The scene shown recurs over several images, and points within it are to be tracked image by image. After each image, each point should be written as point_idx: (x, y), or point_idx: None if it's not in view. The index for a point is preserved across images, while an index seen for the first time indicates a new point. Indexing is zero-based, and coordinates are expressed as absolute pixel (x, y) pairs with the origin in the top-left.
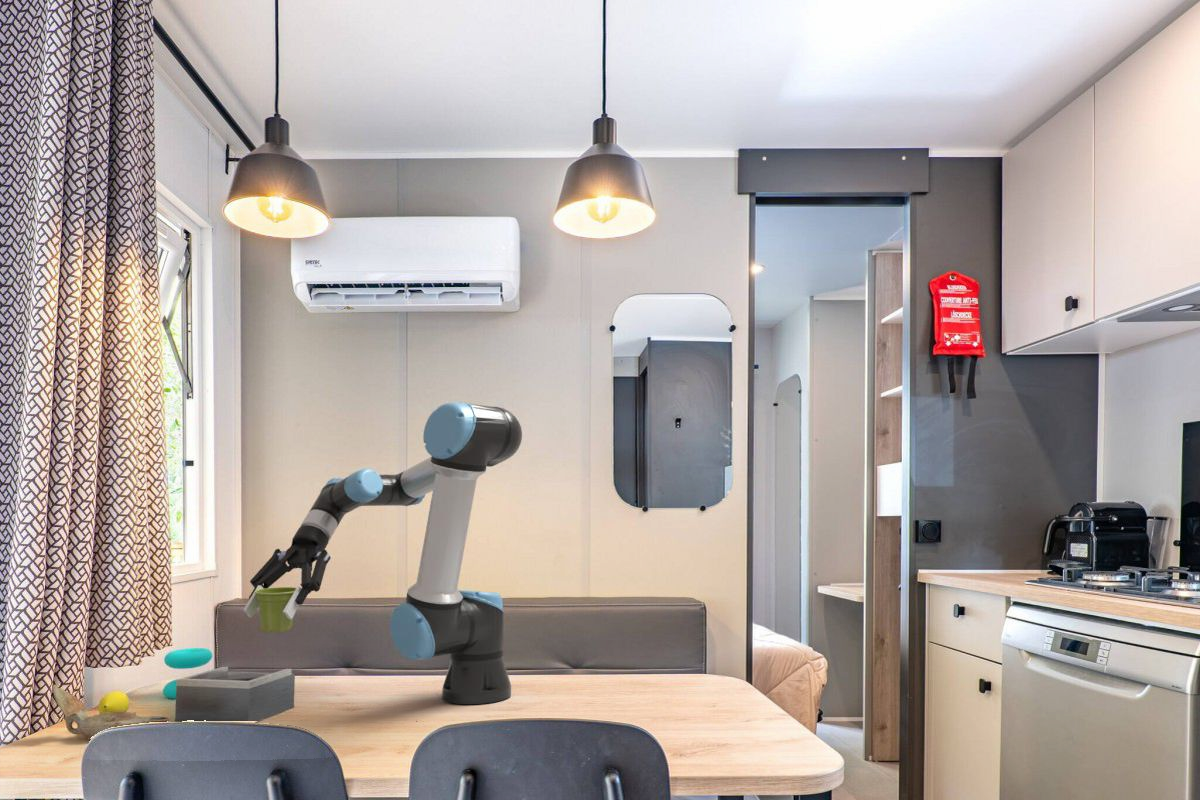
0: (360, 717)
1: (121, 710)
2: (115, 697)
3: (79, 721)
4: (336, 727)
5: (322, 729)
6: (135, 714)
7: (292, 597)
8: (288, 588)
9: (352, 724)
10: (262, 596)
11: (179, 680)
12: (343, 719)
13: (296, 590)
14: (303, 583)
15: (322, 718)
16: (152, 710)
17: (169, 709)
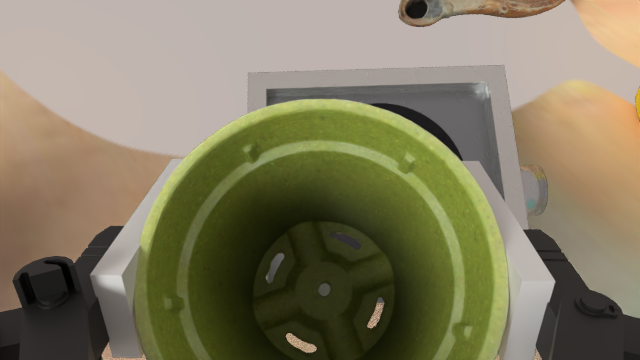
0: (17, 246)
1: (637, 101)
2: None
3: None
4: (37, 149)
5: (63, 128)
6: (498, 9)
7: (146, 211)
8: None
9: (9, 181)
10: (341, 124)
11: (493, 66)
12: (54, 218)
13: (122, 250)
14: (33, 265)
15: (114, 216)
16: (632, 198)
17: (597, 217)
